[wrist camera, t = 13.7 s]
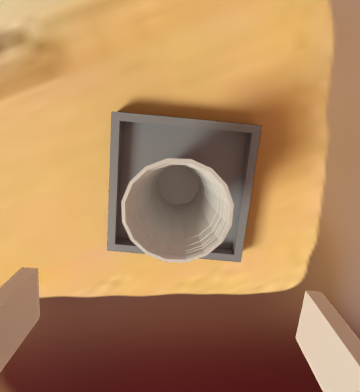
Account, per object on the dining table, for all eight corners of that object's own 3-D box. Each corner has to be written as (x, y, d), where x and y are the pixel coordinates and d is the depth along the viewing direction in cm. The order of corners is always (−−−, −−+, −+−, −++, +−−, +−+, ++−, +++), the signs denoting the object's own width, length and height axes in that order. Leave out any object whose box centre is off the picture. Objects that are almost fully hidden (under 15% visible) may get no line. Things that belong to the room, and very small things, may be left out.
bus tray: (116, 111, 38) (111, 111, 36) (256, 124, 38) (261, 125, 36) (112, 242, 43) (107, 250, 40) (237, 253, 43) (240, 262, 40)
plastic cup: (146, 230, 41) (132, 274, 30) (130, 153, 39) (108, 168, 27) (224, 218, 41) (241, 258, 29) (214, 139, 38) (227, 148, 27)
